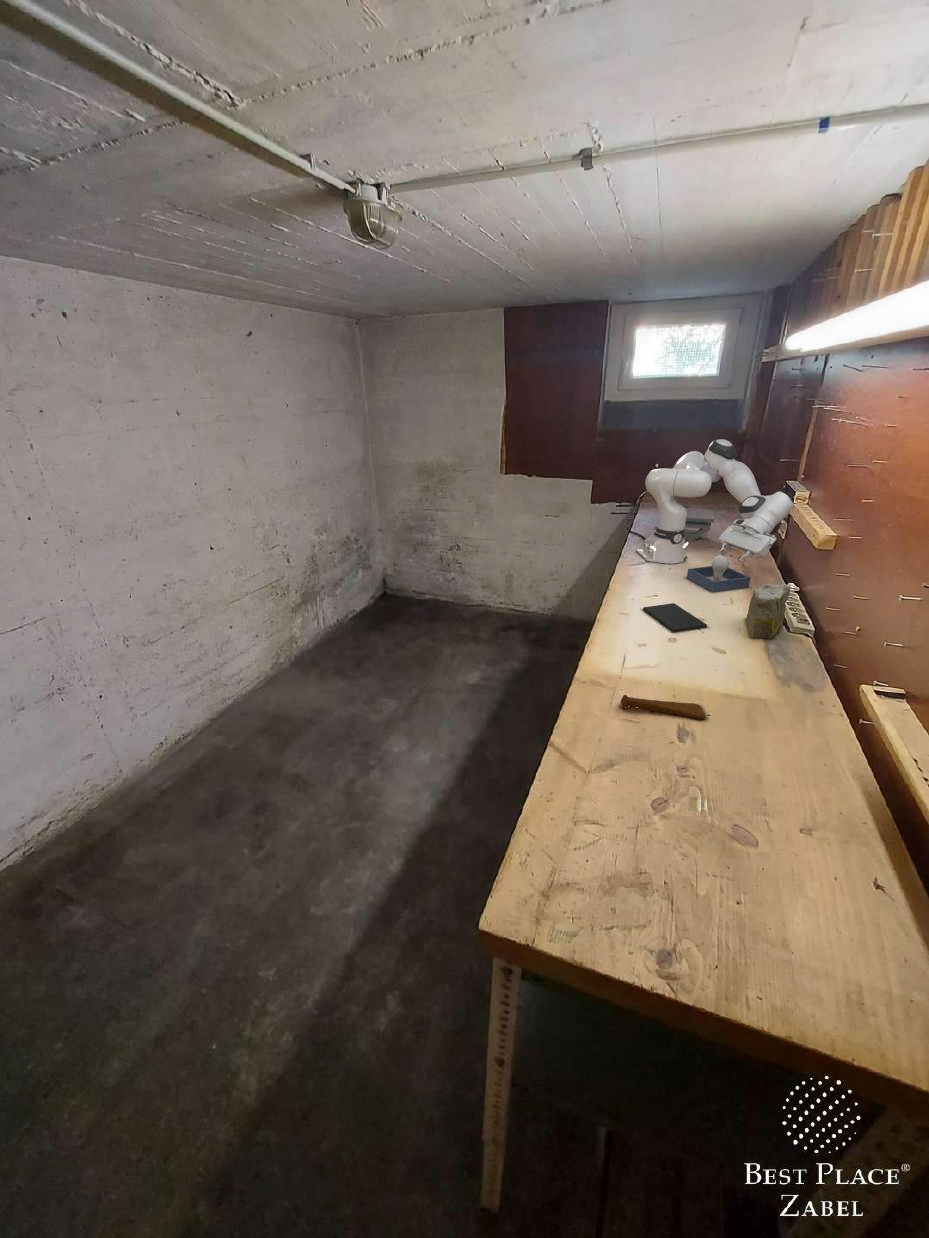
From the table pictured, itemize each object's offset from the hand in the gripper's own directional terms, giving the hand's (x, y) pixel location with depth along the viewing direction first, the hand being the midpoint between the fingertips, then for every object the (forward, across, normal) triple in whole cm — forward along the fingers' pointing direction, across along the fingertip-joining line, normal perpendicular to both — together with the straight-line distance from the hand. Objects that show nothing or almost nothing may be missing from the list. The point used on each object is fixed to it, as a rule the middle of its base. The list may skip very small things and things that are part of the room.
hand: (729, 557), depth 186 cm
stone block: (+20, -38, +6) cm, 44 cm away
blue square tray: (+10, 0, -4) cm, 11 cm away
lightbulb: (+10, 0, -4) cm, 11 cm away
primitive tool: (+60, -62, +45) cm, 98 cm away
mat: (+35, -21, +21) cm, 46 cm away
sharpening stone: (-10, +56, -25) cm, 62 cm away
